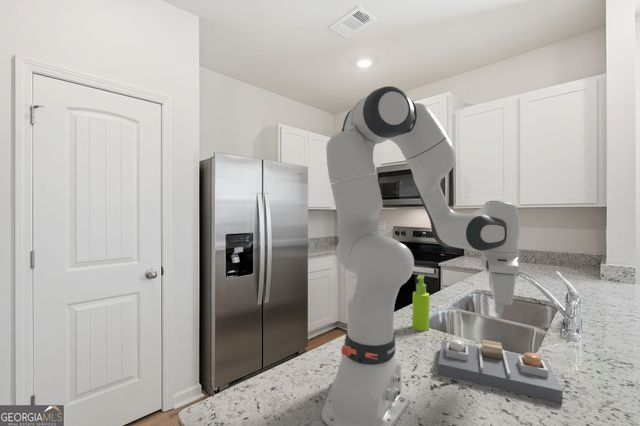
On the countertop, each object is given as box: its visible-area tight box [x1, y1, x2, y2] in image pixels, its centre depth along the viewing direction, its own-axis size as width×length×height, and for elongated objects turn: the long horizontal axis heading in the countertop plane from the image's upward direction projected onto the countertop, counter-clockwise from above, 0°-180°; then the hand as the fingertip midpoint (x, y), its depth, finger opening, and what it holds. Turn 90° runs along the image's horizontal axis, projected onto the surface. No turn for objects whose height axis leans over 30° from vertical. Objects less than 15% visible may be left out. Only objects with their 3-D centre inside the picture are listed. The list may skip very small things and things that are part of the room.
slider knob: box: [481, 339, 503, 359], centre depth 86 cm, size 4×5×3 cm
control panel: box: [437, 339, 563, 404], centre depth 83 cm, size 16×27×5 cm, turn 64°
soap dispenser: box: [411, 274, 430, 332], centre depth 112 cm, size 6×7×20 cm
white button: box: [450, 338, 465, 352], centre depth 87 cm, size 4×4×2 cm
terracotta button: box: [523, 352, 542, 368], centre depth 79 cm, size 4×4×2 cm
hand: (498, 311), depth 82 cm, fingers closed
